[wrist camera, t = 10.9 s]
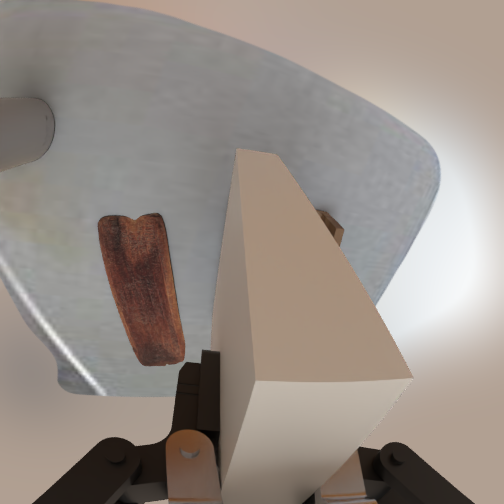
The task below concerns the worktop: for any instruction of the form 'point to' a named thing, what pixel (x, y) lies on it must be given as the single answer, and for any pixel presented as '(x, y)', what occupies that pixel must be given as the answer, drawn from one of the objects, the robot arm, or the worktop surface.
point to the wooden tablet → (143, 286)
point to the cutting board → (292, 344)
